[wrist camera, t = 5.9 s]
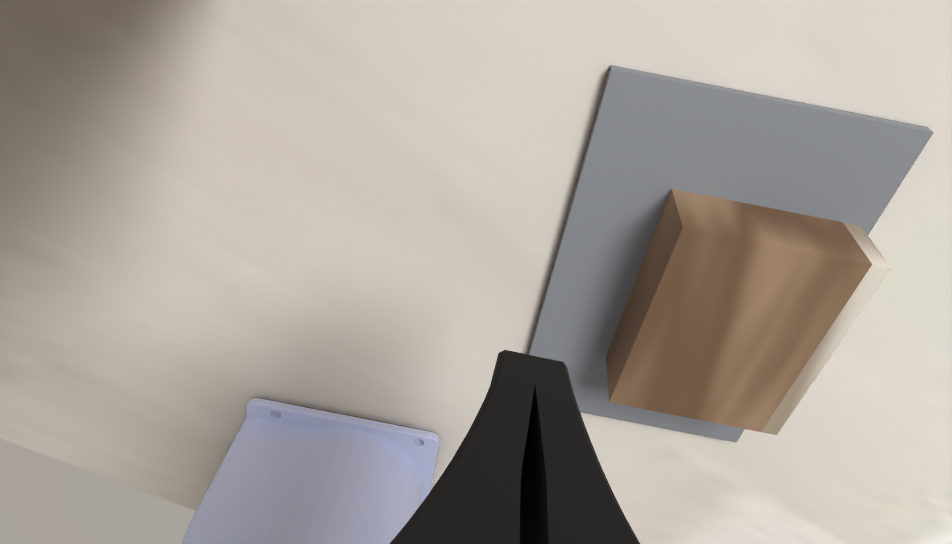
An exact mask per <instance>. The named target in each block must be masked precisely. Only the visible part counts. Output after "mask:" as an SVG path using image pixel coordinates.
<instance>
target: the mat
mask: <svg viewBox="0 0 952 544" xmlns="http://www.w3.org/2000/svg"><path fill="white" fill-rule="evenodd" d="M932 134H933V131H931V130H930V129H929V128H928V127H924V126H919V125H914V124H909V123H903V122H898V121H893V120H888V119H883V118H878V117H873V116H868V115H863V114H857V113H852V112H847V111H842V110H837V109H832V108H827V107H822V106H816V105H811V104H806V103H801V102H796V101H791V100H786V99H781V98H776V97H770V96H765V95H760V94H755V93H750V92H745V91H740V90H735V89H730V88H724V87H719V86H714V85H709V84H704V83H699V82H694V81H689V80H684V79H678V78H673V77H668V76H663V75H658V74H653V73H648V72H643V71H638V70H632V69H627V68H622V67H617V66H612V65H611V66H610V70H609V73H608V77H607V80H606V84H605V87H604V91H603V94H602V98H601V101H600V105H599V108H598V112H597V115H596V119H595V122H594V126H593V129H592V133H591V136H590V140H589V143H588V147H587V150H586V154H585V157H584V161H583V164H582V168H581V171H580V175H579V178H578V181H577V185H576V188H575V192H574V195H573V199H572V202H571V206H570V209H569V213H568V216H567V220H566V223H565V227H564V230H563V234H562V237H561V241H560V244H559V248H558V251H557V255H556V258H555V262H554V265H553V269H552V272H551V276H550V279H549V283H548V286H547V290H546V293H545V297H544V300H543V304H542V307H541V311H540V314H539V318H538V321H537V325H536V328H535V332H534V335H533V339H532V342H531V346H530V349H529V353H528V355H532V356H537V357H542V358H547V359H552V360H557V361H562V362H564V363H565V365H566V366H567V369H568V373H569V377H570V381H571V385H572V388H573V392H574V395H575V398H576V402H577V405H578V408H579V411H580V412H583V413H588V414H593V415H598V416H603V417H608V418H613V419H619V420H624V421H629V422H634V423H639V424H644V425H649V426H654V427H660V428H665V429H670V430H675V431H680V432H685V433H690V434H695V435H701V436H706V437H711V438H716V439H721V440H726V441H731V442H737V441H738V439H739V437H740V436H741V434H742V433H743V431H744V430H745V429H744V428H738V427H733V426H728V425H723V424H718V423H713V422H708V421H703V420H697V419H692V418H687V417H682V416H677V415H672V414H667V413H662V412H656V411H651V410H646V409H641V408H636V407H631V406H626V405H621V404H615V403H610V402H609V391H608V379H607V366H606V355H607V353H608V350H609V348H610V345H611V342H612V340H613V337H614V335H615V332H616V330H617V327H618V325H619V322H620V319H621V317H622V314H623V312H624V309H625V307H626V304H627V301H628V299H629V296H630V294H631V291H632V289H633V286H634V284H635V281H636V278H637V276H638V273H639V271H640V268H641V266H642V263H643V260H644V258H645V255H646V253H647V250H648V248H649V245H650V243H651V240H652V237H653V235H654V232H655V230H656V227H657V225H658V222H659V220H660V217H661V214H662V212H663V209H664V207H665V204H666V202H667V199H668V196H669V194H670V191H671V189H676V190H681V191H686V192H691V193H696V194H701V195H706V196H712V197H717V198H722V199H727V200H732V201H737V202H742V203H747V204H753V205H758V206H763V207H768V208H773V209H778V210H783V211H788V212H793V213H799V214H804V215H809V216H814V217H819V218H824V219H829V220H834V221H839V222H845V223H850V224H855V225H860V226H861V227H862V229H863V230H864V231H865V233H866V234H867V235H869V233H870V231H871V230H872V228H873V227H874V225H875V224H876V222H877V220H878V219H879V217H880V216H881V214H882V213H883V211H884V209H885V208H886V206H887V205H888V203H889V202H890V200H891V198H892V197H893V195H894V194H895V192H896V191H897V189H898V187H899V186H900V184H901V183H902V181H903V180H904V178H905V176H906V175H907V173H908V172H909V170H910V169H911V167H912V165H913V164H914V162H915V161H916V159H917V158H918V156H919V154H920V153H921V151H922V150H923V148H924V147H925V145H926V143H927V142H928V140H929V139H930V137H931V136H932Z"/></svg>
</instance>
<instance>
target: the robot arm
mask: <svg viewBox="0 0 952 544" xmlns="http://www.w3.org/2000/svg"><path fill="white" fill-rule="evenodd" d="M246 416H247V417H246V418H245V420H244V422H243V424H242V426H241V428H240V430H239V431H238V433H237V435H236V437H235V439H234V441H233V443H232V445H231V446H230V448H229V450H228V452H227V454H226V456H225V458H224V460H223V461H222V463H221V465H220V467H219V469H218V471H217V473H216V475H215V477H214V478H213V480H212V482H211V484H210V486H209V488H208V490H207V492H206V493H205V495H204V497H203V499H202V501H201V503H200V505H199V507H198V508H197V510H196V512H195V514H194V516H193V518H192V520H191V522H190V525H189V527H188V529H187V531H186V534H185V537H184V539H183V542H182V544H640V543H639V541H638V539H637V538H636V536H635V534H634V532H633V530H632V529H631V527H630V525H629V523H628V521H627V519H626V518H625V516H624V514H623V512H622V510H621V508H620V506H619V504H618V502H617V500H616V498H615V496H614V494H613V492H612V489H611V487H610V485H609V483H608V481H607V479H606V477H605V474H604V472H603V470H602V468H601V465H600V463H599V461H598V458H597V456H596V453H595V451H594V448H593V446H592V443H591V441H590V438H589V436H588V433H587V430H586V428H585V425H584V422H583V419H582V417H581V414H580V411H579V408H578V405H577V402H576V398H575V395H574V392H573V388H572V385H571V381H570V377H569V373H568V369H567V366H566V365H565V363H564V362H562V361H557V360H552V359H547V358H542V357H537V356H532V355H527V354H522V353H518V352H513V351H508V350H504V351H502V352H500V353H499V354H498V358H497V362H496V365H495V369H494V373H493V377H492V381H491V385H490V388H489V390H488V393H487V395H486V397H485V400H484V402H483V404H482V406H481V408H480V410H479V412H478V414H477V416H476V418H475V420H474V422H473V424H472V426H471V428H470V430H469V432H468V433H467V435H466V437H465V438H464V440H463V442H462V443H461V445H460V447H459V449H458V450H457V452H456V454H455V455H454V457H453V459H452V460H451V462H450V463H449V465H448V467H447V468H446V470H445V471H444V473H443V474H442V476H441V477H440V479H439V480H438V481H437V483H436V484H435V486H434V487H433V489H432V490H431V486H432V481H433V475H434V470H435V465H436V460H437V455H438V449H439V444H440V437H439V436H438V435H437V434H435V433H433V432H429V431H424V430H419V429H414V428H409V427H403V426H398V425H393V424H388V423H383V422H378V421H373V420H368V419H362V418H357V417H352V416H347V415H342V414H337V413H332V412H327V411H321V410H316V409H311V408H306V407H301V406H296V405H291V404H286V403H280V402H275V401H270V400H265V399H260V398H252V399H250V400H249V401H248V403H247V405H246Z"/></svg>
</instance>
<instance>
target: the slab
mask: <svg viewBox="0 0 952 544" xmlns="http://www.w3.org/2000/svg"><path fill="white" fill-rule="evenodd" d="M890 270H891V267H890V265H889V264H888V263H887V261H886V260H885V259H884V257H883V256H882V254H881V253H880V252H879V250H878V249H877V248H876V246H875V245H874V244H873V242H872V241H871V239H870V238H869V237H868V235H867V234H866V233H865V231H864V230H863V229H862V227H861V226H860V225H855V224H850V223H845V222H839V221H834V220H829V219H824V218H819V217H814V216H809V215H804V214H799V213H793V212H788V211H783V210H778V209H773V208H768V207H763V206H758V205H753V204H747V203H742V202H737V201H732V200H727V199H722V198H717V197H712V196H706V195H701V194H696V193H691V192H686V191H681V190H676V189H671V191H670V194H669V196H668V199H667V202H666V204H665V207H664V209H663V212H662V214H661V217H660V220H659V222H658V225H657V227H656V230H655V232H654V235H653V237H652V240H651V243H650V245H649V248H648V250H647V253H646V255H645V258H644V260H643V263H642V266H641V268H640V271H639V273H638V276H637V278H636V281H635V284H634V286H633V289H632V291H631V294H630V296H629V299H628V301H627V304H626V307H625V309H624V312H623V314H622V317H621V319H620V322H619V325H618V327H617V330H616V332H615V335H614V337H613V340H612V342H611V345H610V348H609V350H608V353H607V355H606V366H607V379H608V391H609V402H610V403H615V404H621V405H626V406H631V407H636V408H641V409H646V410H651V411H656V412H662V413H667V414H672V415H677V416H682V417H687V418H692V419H697V420H703V421H708V422H713V423H718V424H723V425H728V426H733V427H738V428H744V429H749V430H754V431H759V432H764V433H769V434H774V435H777V434H778V432H779V431H780V429H781V428H782V427H783V425H784V424H785V422H786V421H787V419H788V418H789V416H790V415H791V413H792V412H793V411H794V409H795V408H796V406H797V405H798V403H799V402H800V400H801V399H802V397H803V396H804V395H805V393H806V392H807V390H808V389H809V387H810V386H811V384H812V383H813V382H814V380H815V379H816V377H817V376H818V374H819V373H820V371H821V370H822V368H823V367H824V366H825V364H826V363H827V361H828V360H829V358H830V357H831V355H832V354H833V352H834V351H835V350H836V348H837V347H838V345H839V344H840V342H841V341H842V339H843V338H844V337H845V335H846V334H847V332H848V331H849V329H850V328H851V326H852V325H853V323H854V322H855V321H856V319H857V318H858V316H859V315H860V313H861V312H862V310H863V309H864V307H865V306H866V305H867V303H868V302H869V300H870V299H871V297H872V296H873V294H874V293H875V292H876V290H877V289H878V287H879V286H880V284H881V283H882V281H883V280H884V278H885V277H886V276H887V274H888V273H889V271H890Z"/></svg>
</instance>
